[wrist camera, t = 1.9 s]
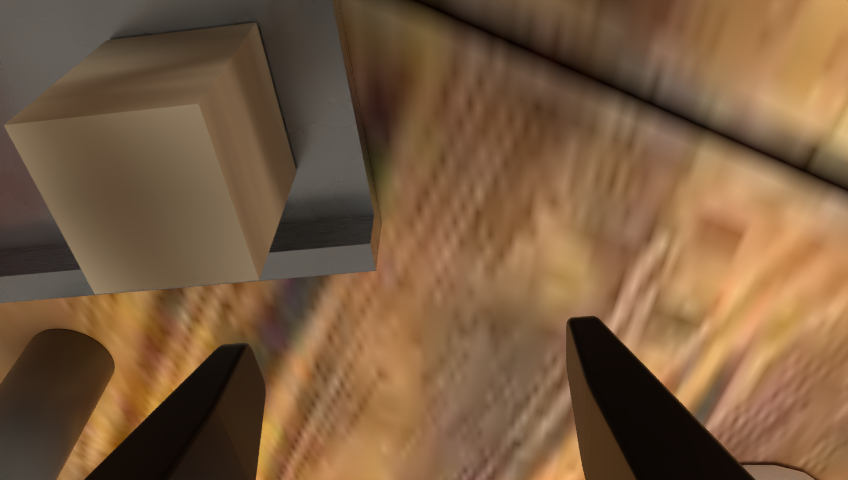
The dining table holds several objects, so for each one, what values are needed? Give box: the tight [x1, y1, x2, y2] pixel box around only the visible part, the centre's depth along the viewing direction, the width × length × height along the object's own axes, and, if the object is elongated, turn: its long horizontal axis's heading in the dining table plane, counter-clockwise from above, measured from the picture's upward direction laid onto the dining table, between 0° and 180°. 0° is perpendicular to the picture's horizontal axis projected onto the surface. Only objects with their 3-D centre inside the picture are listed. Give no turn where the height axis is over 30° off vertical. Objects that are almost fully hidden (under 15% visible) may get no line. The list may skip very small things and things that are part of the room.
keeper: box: [4, 22, 297, 294], centre depth 16 cm, size 4×4×5 cm
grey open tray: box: [0, 0, 382, 303], centre depth 17 cm, size 14×10×6 cm
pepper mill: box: [0, 329, 114, 480], centre depth 22 cm, size 3×3×10 cm
